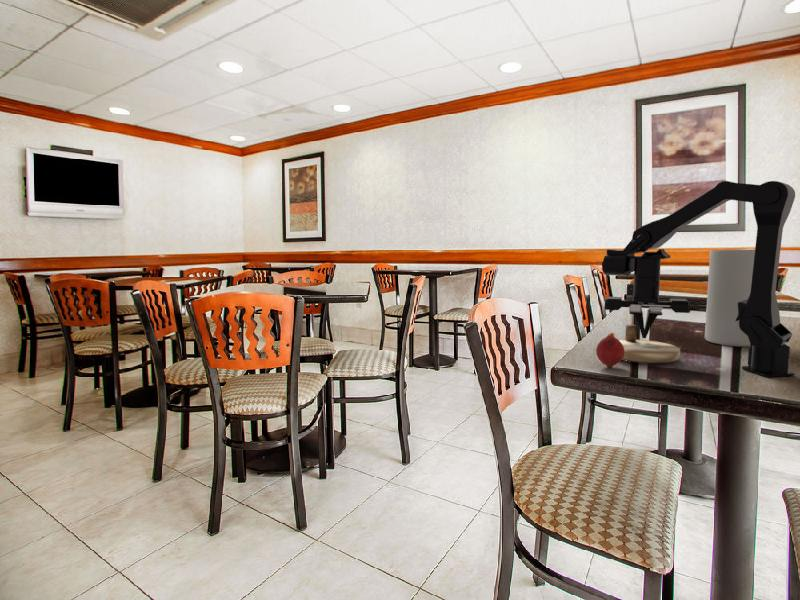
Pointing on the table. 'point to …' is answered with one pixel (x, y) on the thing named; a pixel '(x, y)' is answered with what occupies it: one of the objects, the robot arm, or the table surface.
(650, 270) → the robot arm
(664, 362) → the susan base
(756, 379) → the table surface
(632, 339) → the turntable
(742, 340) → the cylinder vase
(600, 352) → the onion
